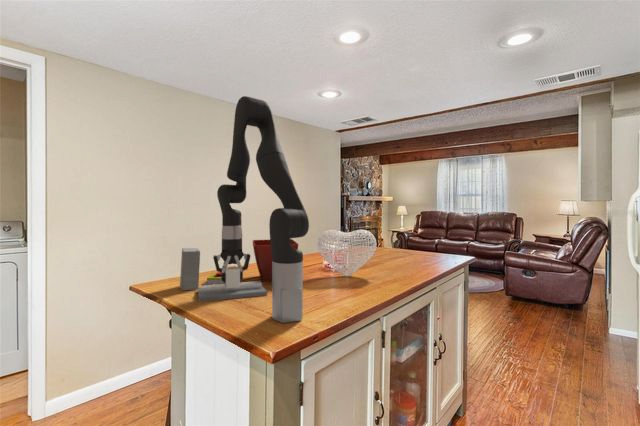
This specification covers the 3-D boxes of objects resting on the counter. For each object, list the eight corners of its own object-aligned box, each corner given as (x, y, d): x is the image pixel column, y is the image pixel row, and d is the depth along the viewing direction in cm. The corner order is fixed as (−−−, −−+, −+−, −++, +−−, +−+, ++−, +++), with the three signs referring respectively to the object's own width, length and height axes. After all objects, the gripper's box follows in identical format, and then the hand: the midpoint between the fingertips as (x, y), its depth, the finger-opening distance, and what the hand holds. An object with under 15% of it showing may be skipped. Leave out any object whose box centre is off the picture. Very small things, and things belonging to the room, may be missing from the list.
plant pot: (254, 284, 138) (254, 244, 137) (252, 274, 156) (252, 239, 156) (298, 282, 143) (298, 243, 142) (291, 272, 161) (291, 238, 161)
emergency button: (208, 270, 146) (242, 270, 147) (208, 280, 146) (242, 280, 147) (202, 275, 137) (238, 275, 138) (202, 285, 137) (238, 285, 138)
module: (224, 284, 126) (224, 265, 126) (237, 283, 128) (237, 265, 128) (226, 288, 120) (226, 269, 120) (240, 287, 122) (239, 268, 122)
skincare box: (179, 286, 134) (179, 248, 133) (198, 284, 137) (198, 247, 137) (181, 291, 126) (181, 250, 126) (200, 289, 130) (200, 249, 129)
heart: (319, 281, 144) (320, 231, 144) (315, 273, 160) (315, 228, 159) (380, 279, 148) (381, 231, 147) (370, 272, 164) (371, 228, 163)
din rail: (261, 288, 126) (261, 282, 126) (201, 293, 118) (201, 287, 118) (259, 285, 130) (259, 280, 130) (201, 290, 122) (201, 285, 122)
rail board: (267, 295, 122) (267, 291, 122) (198, 301, 113) (198, 297, 113) (259, 286, 135) (259, 282, 135) (198, 291, 126) (198, 287, 126)
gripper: (249, 235, 130) (249, 278, 130) (211, 236, 124) (211, 281, 125) (252, 237, 123) (252, 282, 123) (212, 239, 117) (212, 285, 118)
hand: (232, 281), depth 124 cm, fingers closed on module, 5 cm apart
